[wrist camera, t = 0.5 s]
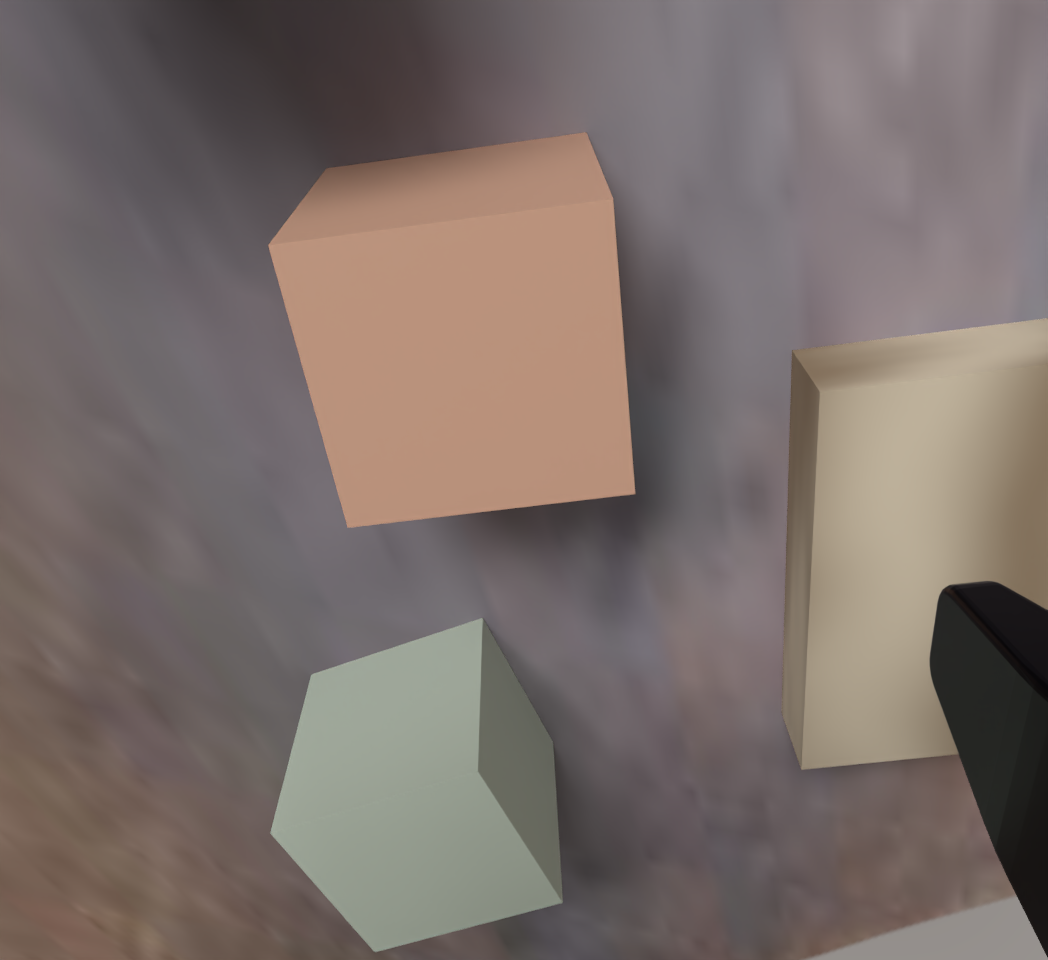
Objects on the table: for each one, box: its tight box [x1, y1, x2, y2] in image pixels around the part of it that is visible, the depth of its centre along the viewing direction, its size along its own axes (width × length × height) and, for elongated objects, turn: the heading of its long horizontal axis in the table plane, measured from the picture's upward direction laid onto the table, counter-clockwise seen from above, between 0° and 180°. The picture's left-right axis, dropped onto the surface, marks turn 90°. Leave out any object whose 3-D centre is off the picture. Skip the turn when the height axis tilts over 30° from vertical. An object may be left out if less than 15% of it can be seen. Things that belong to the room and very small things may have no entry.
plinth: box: [782, 318, 1048, 770], centre depth 21 cm, size 11×11×2 cm
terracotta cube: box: [268, 133, 635, 528], centre depth 16 cm, size 5×5×5 cm
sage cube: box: [270, 618, 563, 952], centre depth 23 cm, size 5×5×5 cm
